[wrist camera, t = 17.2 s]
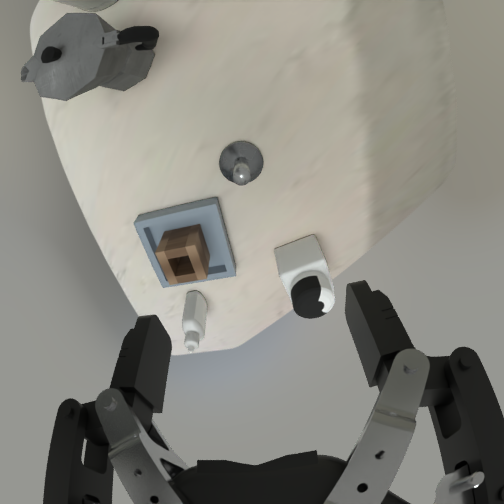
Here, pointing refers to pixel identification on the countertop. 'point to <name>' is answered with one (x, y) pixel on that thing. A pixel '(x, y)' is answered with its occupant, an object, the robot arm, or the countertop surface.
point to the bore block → (184, 254)
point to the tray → (183, 216)
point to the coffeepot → (89, 56)
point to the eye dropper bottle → (194, 320)
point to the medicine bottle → (306, 277)
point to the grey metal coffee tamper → (241, 162)
